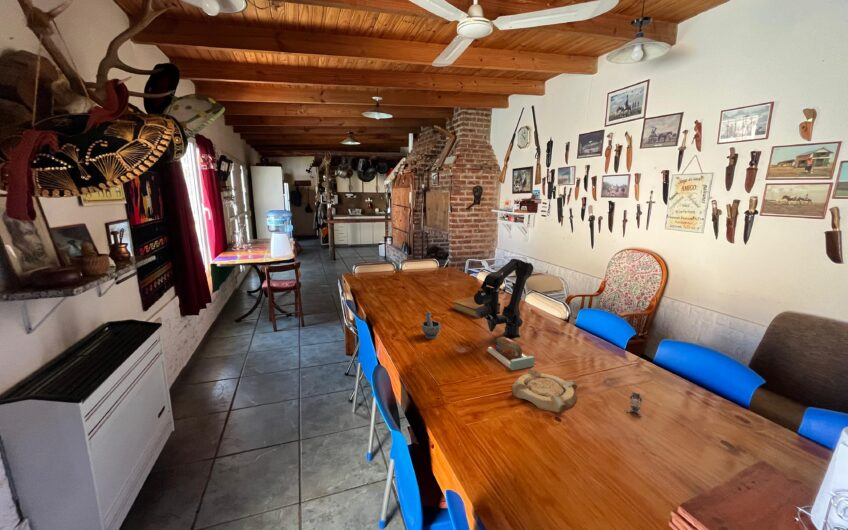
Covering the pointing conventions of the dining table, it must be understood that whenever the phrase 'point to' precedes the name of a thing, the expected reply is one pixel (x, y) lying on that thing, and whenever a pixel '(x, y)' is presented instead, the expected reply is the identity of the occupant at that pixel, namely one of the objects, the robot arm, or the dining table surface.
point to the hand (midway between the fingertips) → (491, 331)
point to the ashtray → (546, 391)
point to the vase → (635, 403)
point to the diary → (468, 306)
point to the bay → (514, 363)
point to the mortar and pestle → (430, 327)
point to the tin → (508, 348)
